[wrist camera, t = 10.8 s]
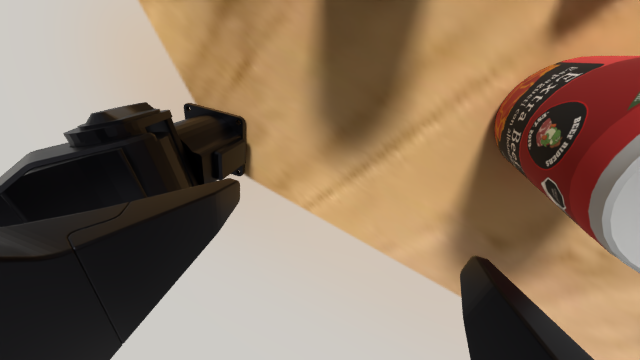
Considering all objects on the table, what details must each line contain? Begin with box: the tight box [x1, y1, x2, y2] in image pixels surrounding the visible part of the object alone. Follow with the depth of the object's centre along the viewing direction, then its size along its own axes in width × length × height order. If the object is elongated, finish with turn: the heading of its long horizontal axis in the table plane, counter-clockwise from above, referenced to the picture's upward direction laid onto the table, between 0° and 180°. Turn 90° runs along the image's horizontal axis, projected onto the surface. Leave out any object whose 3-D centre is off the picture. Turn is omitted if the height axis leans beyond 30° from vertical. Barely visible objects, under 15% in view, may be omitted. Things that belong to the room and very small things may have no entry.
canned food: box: [495, 56, 640, 273], centre depth 11 cm, size 8×8×11 cm
